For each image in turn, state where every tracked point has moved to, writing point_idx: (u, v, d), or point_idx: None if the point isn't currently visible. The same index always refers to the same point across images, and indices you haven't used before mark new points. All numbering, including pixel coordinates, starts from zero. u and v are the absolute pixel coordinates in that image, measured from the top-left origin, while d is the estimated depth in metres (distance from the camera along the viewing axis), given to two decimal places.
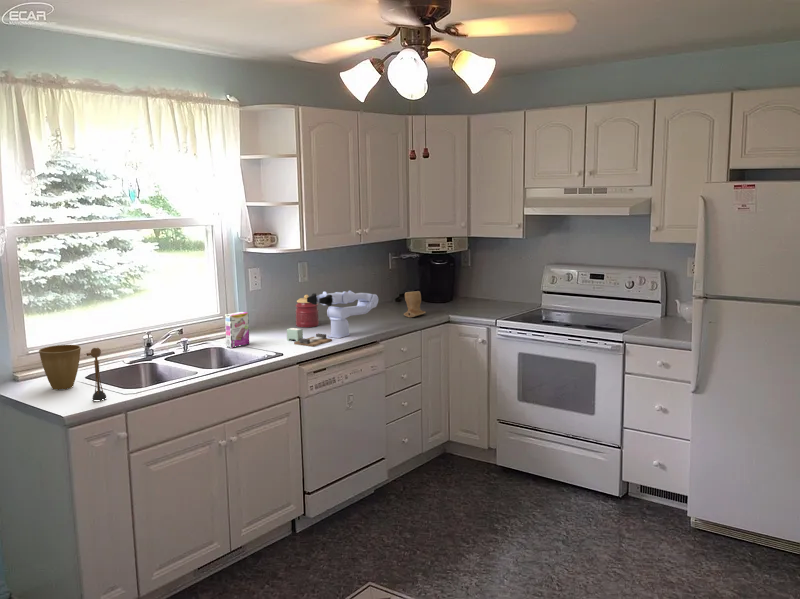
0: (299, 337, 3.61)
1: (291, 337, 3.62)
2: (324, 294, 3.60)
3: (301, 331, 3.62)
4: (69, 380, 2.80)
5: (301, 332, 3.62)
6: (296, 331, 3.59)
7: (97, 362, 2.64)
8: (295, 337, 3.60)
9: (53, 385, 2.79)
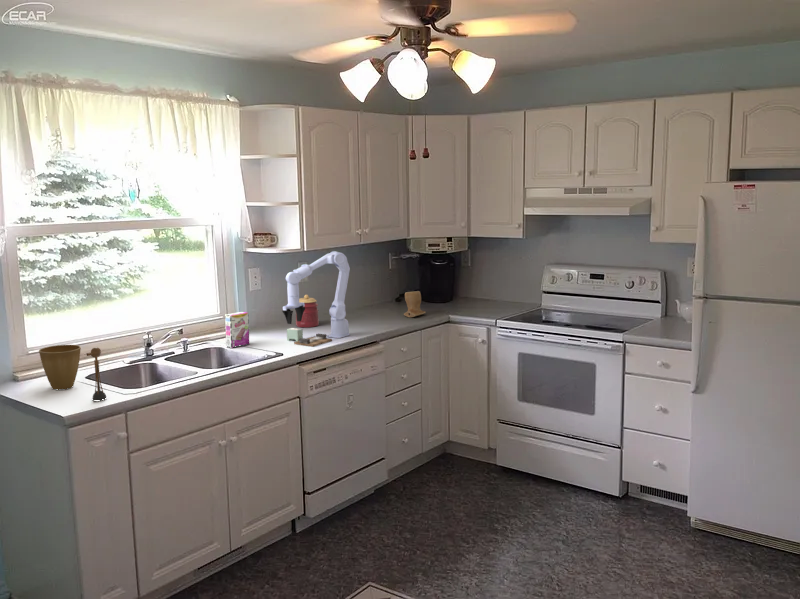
0: (299, 337, 3.61)
1: (291, 337, 3.62)
2: None
3: (301, 331, 3.62)
4: (69, 380, 2.80)
5: (301, 332, 3.62)
6: (296, 331, 3.59)
7: (97, 362, 2.64)
8: (295, 337, 3.60)
9: (53, 385, 2.79)
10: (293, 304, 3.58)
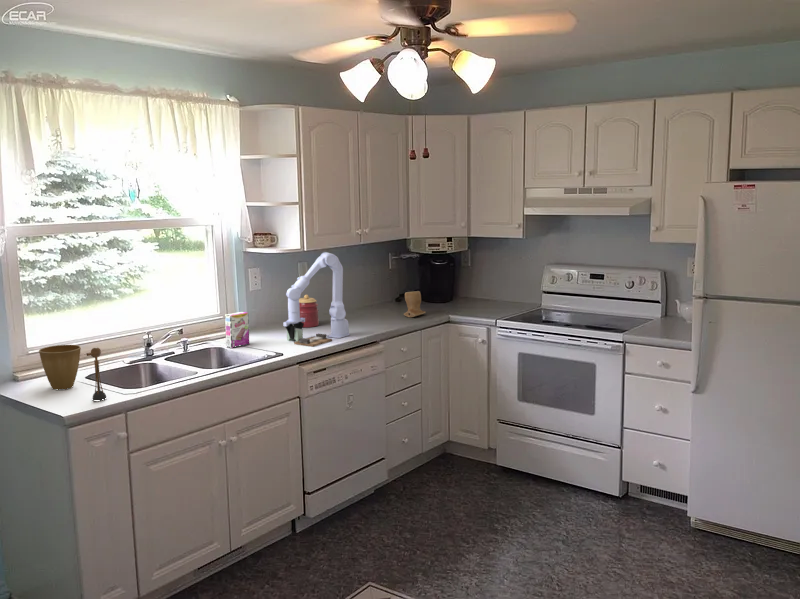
0: (299, 337, 3.61)
1: None
2: None
3: (301, 331, 3.62)
4: (69, 380, 2.80)
5: (301, 332, 3.62)
6: (296, 331, 3.59)
7: (97, 362, 2.64)
8: (295, 337, 3.60)
9: (53, 385, 2.79)
10: (294, 320, 3.59)
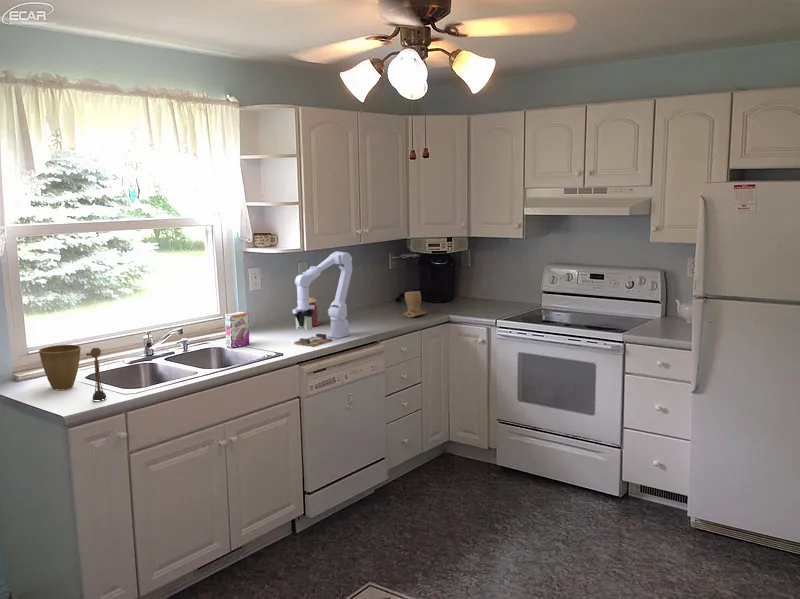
0: (308, 325, 3.57)
1: None
2: None
3: (310, 319, 3.58)
4: (69, 380, 2.80)
5: (310, 320, 3.58)
6: (305, 319, 3.55)
7: (97, 362, 2.64)
8: (304, 325, 3.56)
9: (53, 385, 2.79)
10: (303, 307, 3.55)
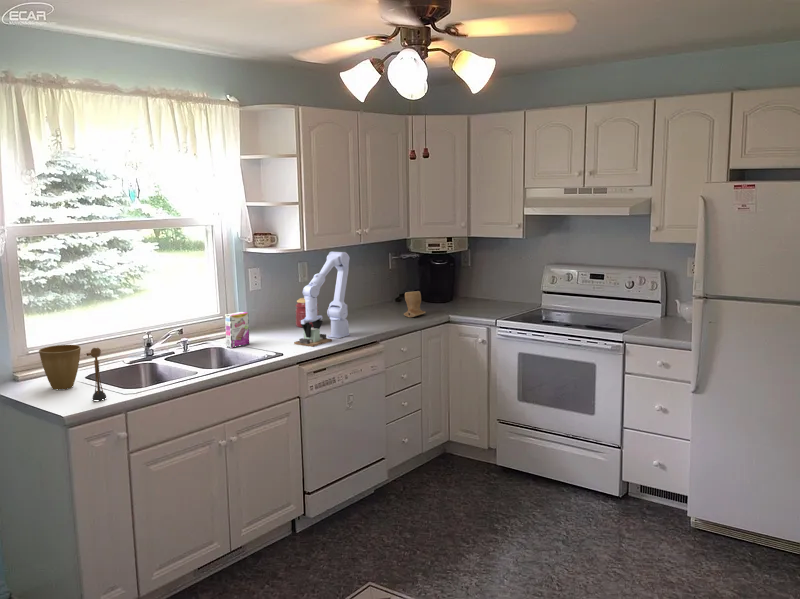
0: (316, 337, 3.55)
1: (308, 337, 3.56)
2: None
3: (318, 331, 3.56)
4: (69, 380, 2.80)
5: (318, 332, 3.56)
6: (313, 331, 3.54)
7: (97, 362, 2.64)
8: (312, 337, 3.55)
9: (53, 385, 2.79)
10: (311, 318, 3.53)
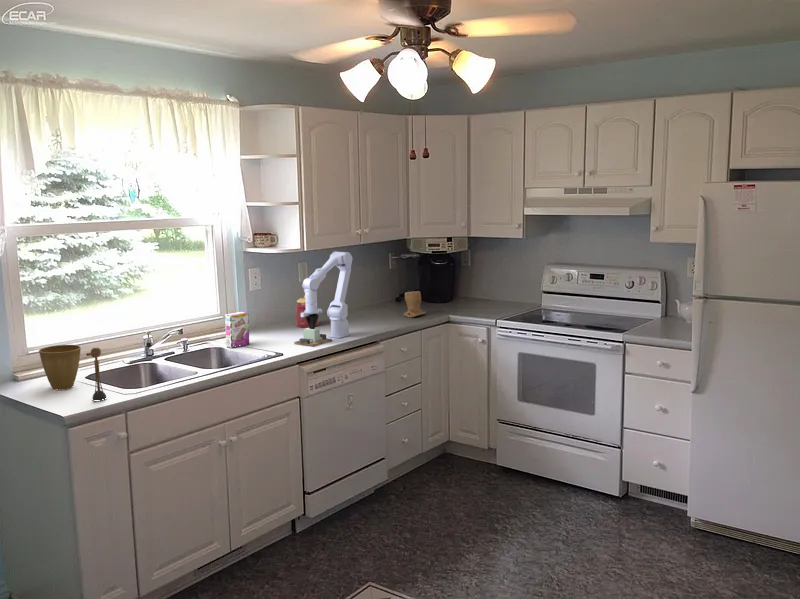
0: (316, 337, 3.55)
1: (308, 337, 3.56)
2: None
3: (318, 331, 3.56)
4: (69, 380, 2.80)
5: (318, 332, 3.56)
6: (313, 331, 3.54)
7: (97, 362, 2.64)
8: (312, 337, 3.55)
9: (53, 385, 2.79)
10: (311, 310, 3.52)
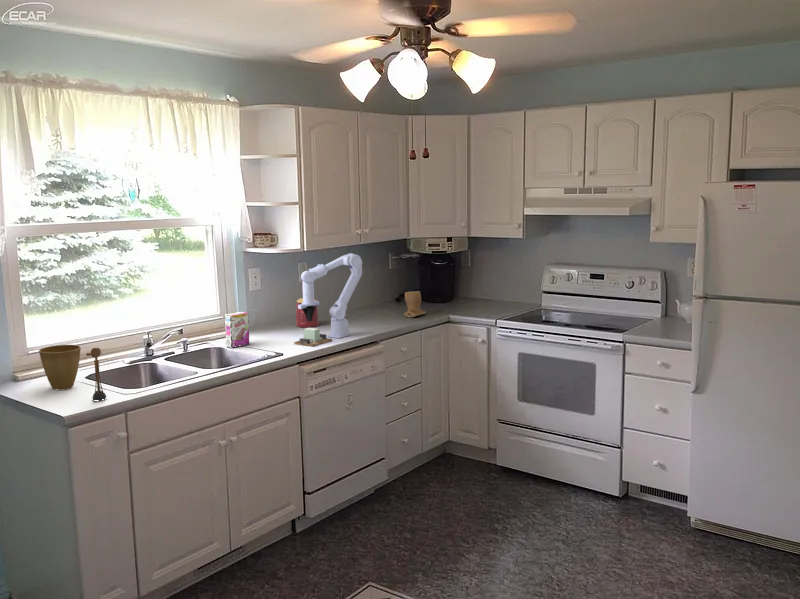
0: (316, 337, 3.55)
1: (308, 337, 3.56)
2: None
3: (318, 331, 3.56)
4: (69, 380, 2.80)
5: (318, 332, 3.56)
6: (313, 331, 3.54)
7: (97, 362, 2.64)
8: (312, 337, 3.55)
9: (53, 385, 2.79)
10: (308, 303, 3.61)
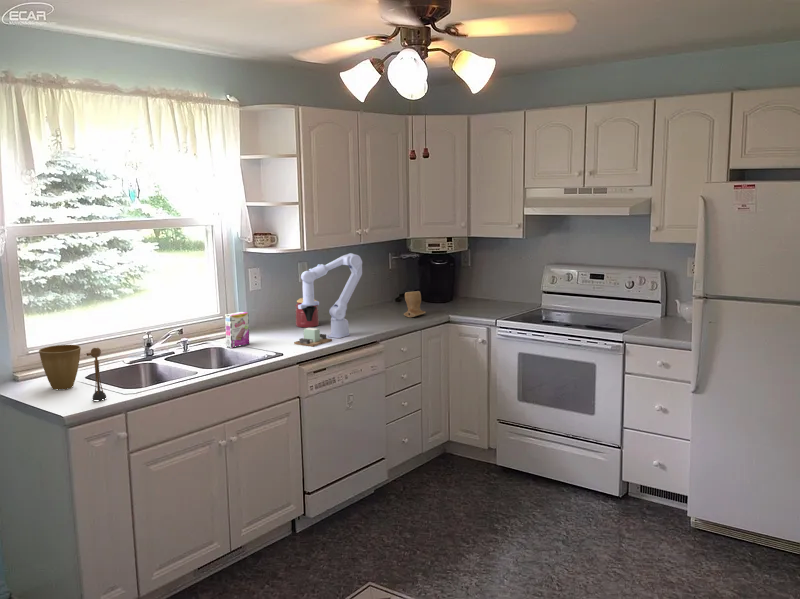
0: (316, 337, 3.55)
1: (308, 337, 3.56)
2: None
3: (318, 331, 3.56)
4: (69, 380, 2.80)
5: (318, 332, 3.56)
6: (313, 331, 3.54)
7: (97, 362, 2.64)
8: (312, 337, 3.55)
9: (53, 385, 2.79)
10: (308, 303, 3.61)
